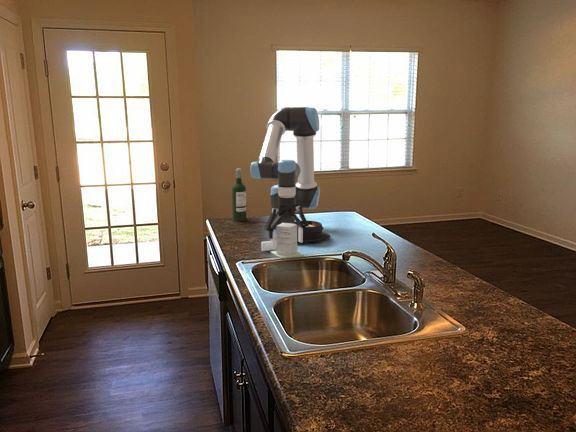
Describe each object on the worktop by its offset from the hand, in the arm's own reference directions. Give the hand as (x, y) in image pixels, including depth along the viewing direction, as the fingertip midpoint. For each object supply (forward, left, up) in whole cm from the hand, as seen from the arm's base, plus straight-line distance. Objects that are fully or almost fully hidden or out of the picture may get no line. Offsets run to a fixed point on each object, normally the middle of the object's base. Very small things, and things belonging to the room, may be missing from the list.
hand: (286, 244), depth 211 cm
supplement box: (0, 0, -4) cm, 4 cm away
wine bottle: (-6, -74, -5) cm, 74 cm away
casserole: (-19, -17, -5) cm, 26 cm away
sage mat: (0, 0, -4) cm, 4 cm away
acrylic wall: (0, -9, -4) cm, 10 cm away
